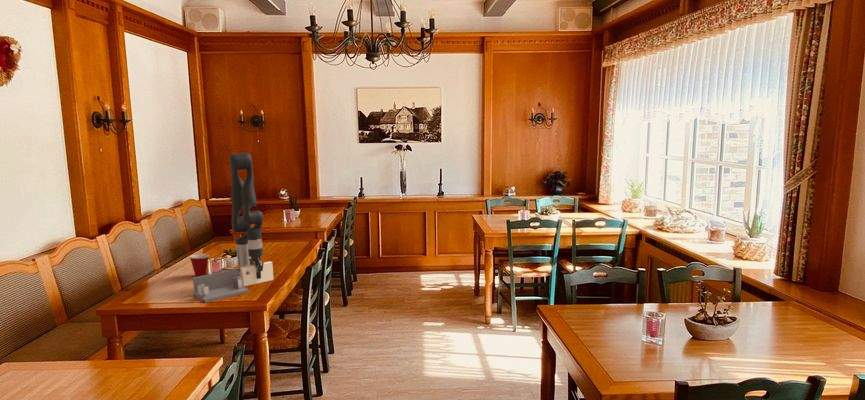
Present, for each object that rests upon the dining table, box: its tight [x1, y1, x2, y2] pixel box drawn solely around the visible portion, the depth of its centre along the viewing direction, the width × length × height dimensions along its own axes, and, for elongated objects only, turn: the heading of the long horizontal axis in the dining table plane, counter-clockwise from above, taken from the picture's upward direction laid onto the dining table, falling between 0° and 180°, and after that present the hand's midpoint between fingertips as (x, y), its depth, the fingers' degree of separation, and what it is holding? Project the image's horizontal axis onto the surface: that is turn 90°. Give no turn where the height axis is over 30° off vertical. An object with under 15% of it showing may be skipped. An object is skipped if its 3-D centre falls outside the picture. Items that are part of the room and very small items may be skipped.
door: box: [240, 260, 275, 287], centre depth 287 cm, size 4×17×10 cm, turn 132°
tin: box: [217, 266, 241, 277], centre depth 289 cm, size 15×3×8 cm, turn 84°
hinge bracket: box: [192, 269, 250, 303], centre depth 268 cm, size 16×22×10 cm
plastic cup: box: [188, 254, 211, 277], centre depth 304 cm, size 11×11×12 cm
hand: (257, 277), depth 288 cm, fingers closed on door, 3 cm apart
